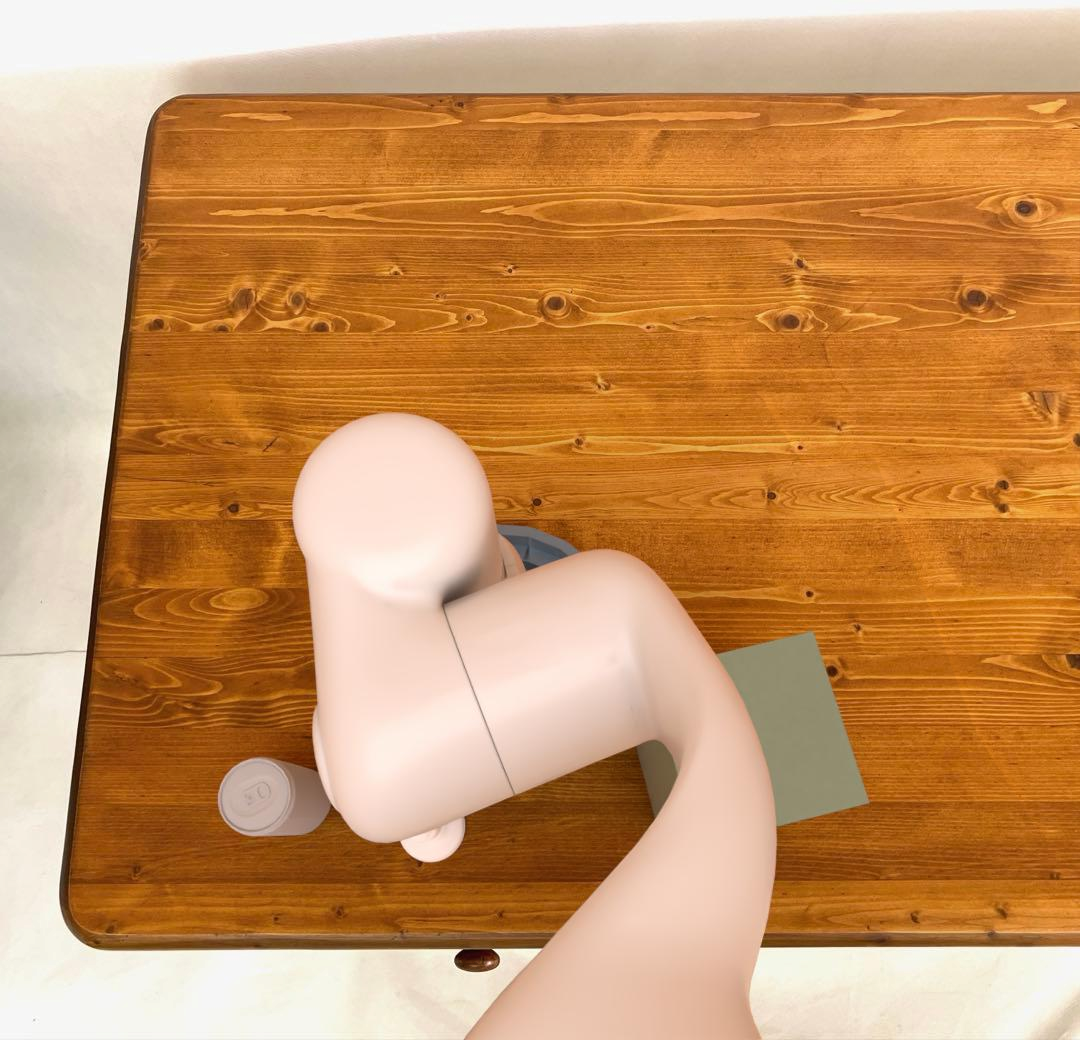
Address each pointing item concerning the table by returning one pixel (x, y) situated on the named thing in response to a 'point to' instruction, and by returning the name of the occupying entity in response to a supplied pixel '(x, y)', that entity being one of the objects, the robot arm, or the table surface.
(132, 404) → the table surface
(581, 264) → the table surface
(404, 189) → the table surface
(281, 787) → the beverage can
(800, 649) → the stand
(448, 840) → the chess piece
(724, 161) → the table surface
